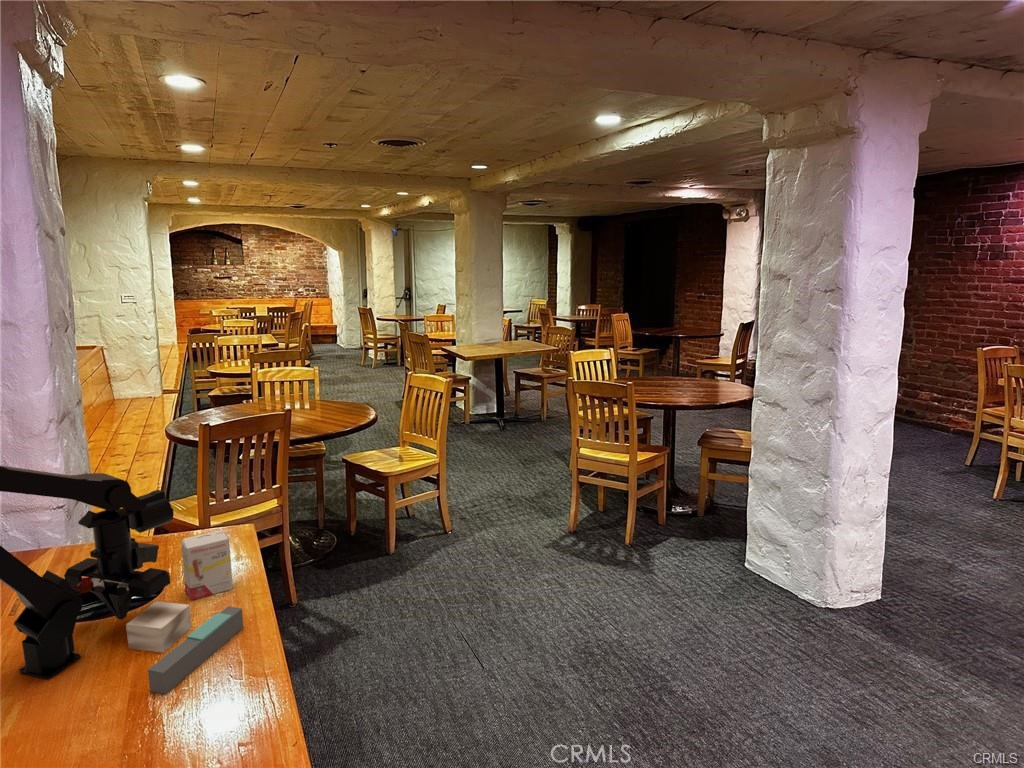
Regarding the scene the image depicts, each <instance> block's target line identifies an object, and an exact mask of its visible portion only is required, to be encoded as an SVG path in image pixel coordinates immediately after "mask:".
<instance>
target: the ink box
mask: <svg viewBox="0 0 1024 768" xmlns="http://www.w3.org/2000/svg"><path fill="white" fill-rule="evenodd" d="M229 538H230V537H229V536H228V534H227V533H226V532H225V530H217V531H212V532H208V533H203V534H198V535H194V536H190V537H185V538H183V539H182V540H181V552H182V565H183V566H182V567H183V579H184V580H183V581H184V591H185V593H186V595H187V597H188V599H189V600H190V601H194V600H198V599H201V598H205V597H208V596H212V595H215V594H219V593H223V592H226V591H229V590H232V589H233V588H234V584H233V574H232V573H233V572H232V559H231V548H230V539H229Z"/></svg>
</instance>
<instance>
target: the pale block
mask: <svg viewBox="0 0 1024 768" xmlns="http://www.w3.org/2000/svg"><path fill="white" fill-rule="evenodd" d="M125 626H126V627H125V628H126V635H127V643H128V644H127V645H128V649H131V650H140V651H147V652H156V653H165V652H167V651H168V650H169V649H170V648H171V647H172V646H173V645H174V644H175V643H177V641H179V640H180V639H181V638H182V637H183V636H184V635H186V634H187V632H189V630H191V629H192V616H191V607H190V604H185V603H176V602H175V603H174V602H167V601H165V602H164V601H158V600H157V601H156V600H155V601H154V602H152V604H150V605H149V606H148V607H147V608H146V609H144V610H143V611H142V612H140V613H139V614H138V615H136V616H135V617H133V619H131V620H130V621H128V622H127V623H125Z"/></svg>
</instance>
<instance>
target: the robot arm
mask: <svg viewBox="0 0 1024 768" xmlns="http://www.w3.org/2000/svg"><path fill="white" fill-rule="evenodd" d="M0 492H3V493H4V492H6V493H13V494H22V495H31V496H38V497H39V496H41V497H47V498H48V497H49V498H57V499H67V500H73V501H77V502H80V503H82V504H86V505H90V506H92V507H95V508H99V509H102V510H101V511H98V512H95V511H91V510H87V511H86V513H85V515H84V516H82V517H81V518H80V519H79V520H78V522H77V523H78V525H80V526H82V527H85V528H86V529H92V532H93V539H94V548H95V549H92V550H91V551H90V552H89V555H90V557H87V558H85V559H83V560H81V561H79V562H77V563H75V564H73V565H72V566H70V567H68V568H67V569H66V571H65V573H64V576H63V577H61V576H59V575H57V574H56V573H54V572H52V571H50V570H49V569H47V570H46V571H45V572H44V573H43V574H42V575H41V576H40V575H39V574H38V573H36V572H35V571H34V570H33V569H32V568H30V567H29V566H28V565H26V564H25V563H23V562H22V561H21V560H20V559H19V558H17V557H16V556H14V554H12V553H11V552H9V551H8V550H7V549H5V548H4V547H3V546H2V545H0V582H2V583H3V584H5V585H6V586H7V587H9V588H10V589H11V590H13V591H14V592H15V593H16V595H17V597H18V599H19V600H20V602H21V603H22V605H24V608H23V610H22V611H21V613H20V614H19V615H18V616H17V618H16V620H14V622H13V626H14V627H15V628H16V630H17V631H18V632H19V633H22V634H24V635H25V639H23V640H22V641H21V644H22V652H23V658H24V663H25V665H24V666H22V667H21V668H19V670H18V672H19V674H23V675H27V676H33V677H37V678H41V679H47V680H48V679H51V678H53V677H54V676H56V675H57V674H58V673H60V672H61V671H63V670H64V669H66V668H67V667H69V666H70V665H72V664H73V663H74V662H76V661H78V660H79V659H81V654H80V653H77V652H75V651H76V650H75V643H74V635H73V634H74V630H75V628H76V625H77V619H78V616H79V615H80V613H81V611H82V608H83V603H84V601H83V598H81V596H80V595H79V594H81V593H82V591H81V590H80V589H77V588H75V587H79V586H80V585H81V583H83V577H86V578H90V580H91V581H92V583H93V587H91V588H90V592H91V593H93V594H94V595H96V597H98V598H99V600H101V602H103V603H104V604H105V606H106V607H107V608H108V609H109V610H110V611H111V613H112V614H113V615H114V616H115V617H116V618H117V620H121V621H122V620H124V619H126V618H127V616H128V614H129V613H128V612H129V609H130V606H131V603H132V599H133V597H138V598H142V599H147V598H150V597H152V596H153V595H155V594H157V593H159V592H160V591H161V590H162V589H164V588H166V587H168V585H170V584H171V576H170V572H169V571H168V570H166V569H160V568H155V567H149V568H148V569H146V570H144V571H138V570H139V569H141V568H143V567H144V565H143V564H146V563H157V560H158V555H159V547H160V545H159V544H152V543H145V542H138V541H136V538H134V537H131V530H133V531H134V530H135V531H136V532H138V534H139V533H140V534H141V533H144V532H147V531H151V530H153V529H155V528H158V527H161V526H163V525H167V524H169V523H171V522H172V521H173V519H174V508H173V506H172V505H171V503H170V501H169V499H168V498H167V497H166V493H165V491H163V490H161V489H155V490H153V491H151V492H148V493H147V494H143V495H139V496H136V495H135V494H134V492H132V487H131V485H130V483H129V482H128V481H127V480H124V479H121V478H119V477H116V476H113V475H110V474H109V473H108V474H107V473H105V472H104V473H103V472H98V473H97V472H95V473H93V472H92V473H81V474H72V475H71V474H62V473H55V472H50V471H41V470H34V469H29V468H27V469H26V468H20V467H14V466H6V465H0Z"/></svg>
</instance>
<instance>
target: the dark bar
mask: <svg viewBox="0 0 1024 768" xmlns="http://www.w3.org/2000/svg"><path fill="white" fill-rule="evenodd" d="M243 619H244V618H243V608H240V607H236V606H227V607H225V608H223V610H221V611H220V612H216V613H215V614H214V615H212V616H211V617H210V618H208V619H207V620H206V621H204V622H203V623H202V624H201V625H199V626H198V627H197V628H195V629H194V630H192V632H190V634H188V635H187V636H186V638H185V640H183V641H182V642H180V644H179V645H177V646H175V648H173V649H172V650H171V651H169V652H168V653H167V654H166V655H164V656H163V657H162V658H161V659H159V660H158V661H157V662H155V663H154V664H153V665H152V666H151V667H149V668H148V669H147V674H148V676H147V677H148V685H149V691H150V692H152V693H157V694H161V695H167V694H168V693H169V692H170V691H171V690H173V689H174V688H175V687H177V685H178V684H180V683H181V682H182V681H183V680H184V679H185V678H186V677H188V676H189V675H190V674H191V673H192V672H194V671H195V670H196V669H197V668H198V667H199V666H200V665H202V664H203V663H204V662H205V661H206V660H207V659H208V658H210V657H211V656H212V655H213V654H214V653H216V652H217V651H218V650H219V649H220V648H221V647H222V646H224V645H225V644H226V643H227V642H228V641H230V639H232V638H233V637H234V636H235V635H236V634H238V632H240V631H241V630H242V629H244V620H243Z"/></svg>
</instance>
